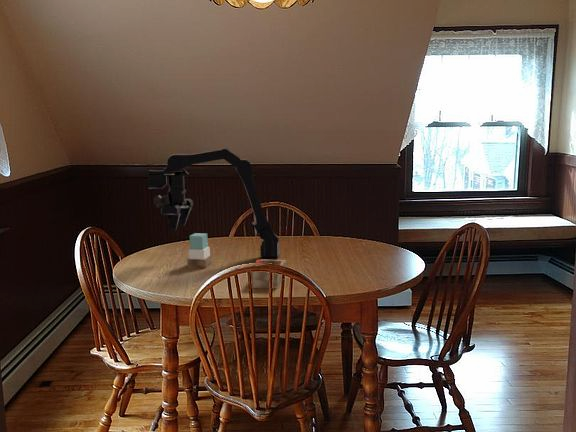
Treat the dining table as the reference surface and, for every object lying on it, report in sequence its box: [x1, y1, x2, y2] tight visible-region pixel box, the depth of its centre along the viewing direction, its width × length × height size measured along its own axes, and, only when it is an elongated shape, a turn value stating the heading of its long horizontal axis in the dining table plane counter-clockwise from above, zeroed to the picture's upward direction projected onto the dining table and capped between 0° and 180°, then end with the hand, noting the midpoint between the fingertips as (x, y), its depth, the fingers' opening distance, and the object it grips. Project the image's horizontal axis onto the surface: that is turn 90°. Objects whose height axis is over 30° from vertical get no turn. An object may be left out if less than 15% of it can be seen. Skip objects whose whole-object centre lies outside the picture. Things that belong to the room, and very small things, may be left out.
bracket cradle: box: [251, 258, 287, 290], centre depth 202 cm, size 9×16×6 cm, turn 170°
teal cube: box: [189, 232, 209, 250], centre depth 222 cm, size 5×5×5 cm
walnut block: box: [186, 254, 213, 269], centre depth 224 cm, size 7×7×4 cm
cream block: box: [188, 246, 211, 260], centre depth 223 cm, size 6×6×4 cm
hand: (178, 228), depth 227 cm, fingers open, 9 cm apart
